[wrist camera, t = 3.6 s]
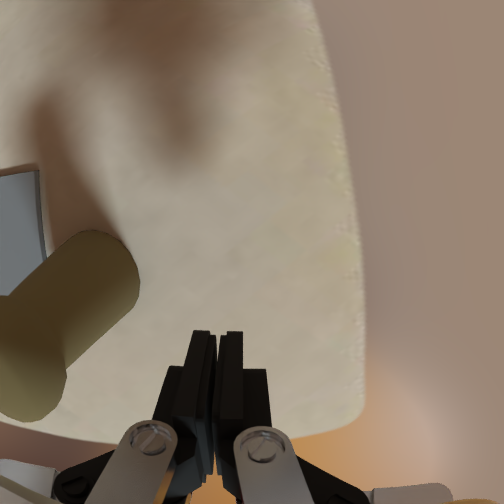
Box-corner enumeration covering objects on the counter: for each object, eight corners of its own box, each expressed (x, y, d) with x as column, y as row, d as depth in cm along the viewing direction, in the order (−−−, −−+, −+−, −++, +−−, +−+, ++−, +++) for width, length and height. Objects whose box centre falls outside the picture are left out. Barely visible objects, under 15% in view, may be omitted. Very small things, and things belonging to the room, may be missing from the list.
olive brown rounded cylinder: (47, 279, 17) (-60, 366, 6) (84, 209, 16) (-60, 272, 5) (112, 335, 18) (37, 459, 8) (158, 274, 17) (70, 408, 6)
